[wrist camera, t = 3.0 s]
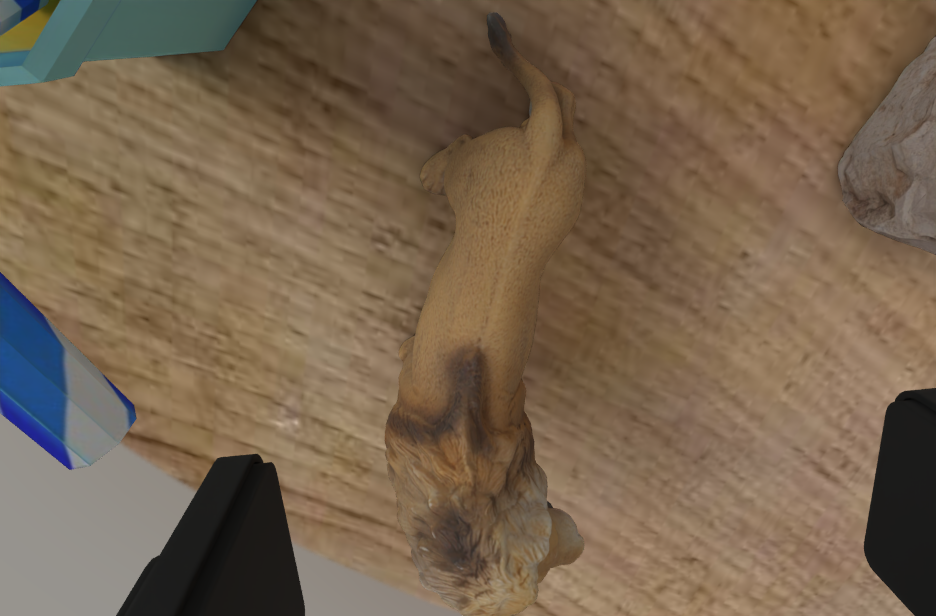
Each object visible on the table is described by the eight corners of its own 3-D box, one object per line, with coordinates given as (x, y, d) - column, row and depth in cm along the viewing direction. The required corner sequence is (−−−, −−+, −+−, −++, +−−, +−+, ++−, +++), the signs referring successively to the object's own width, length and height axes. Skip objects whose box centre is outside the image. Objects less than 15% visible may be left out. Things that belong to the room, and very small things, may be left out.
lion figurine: (537, 452, 23) (604, 660, 15) (393, 452, 23) (375, 667, 14) (575, 19, 18) (708, -47, 10) (393, 10, 18) (369, -69, 9)
